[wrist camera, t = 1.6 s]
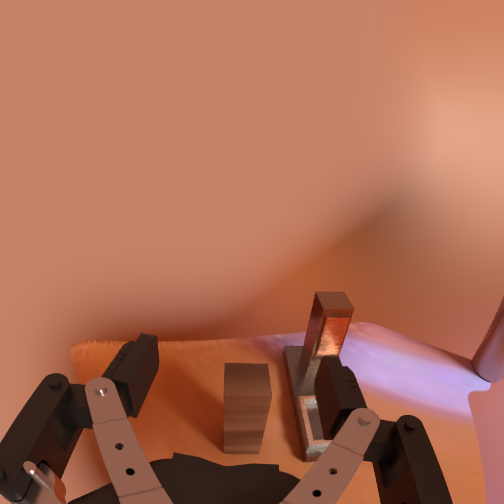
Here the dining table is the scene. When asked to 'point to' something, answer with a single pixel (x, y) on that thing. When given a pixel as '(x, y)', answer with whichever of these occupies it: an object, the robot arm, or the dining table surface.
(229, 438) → the wooden post
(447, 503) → the robot arm
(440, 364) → the dining table surface
